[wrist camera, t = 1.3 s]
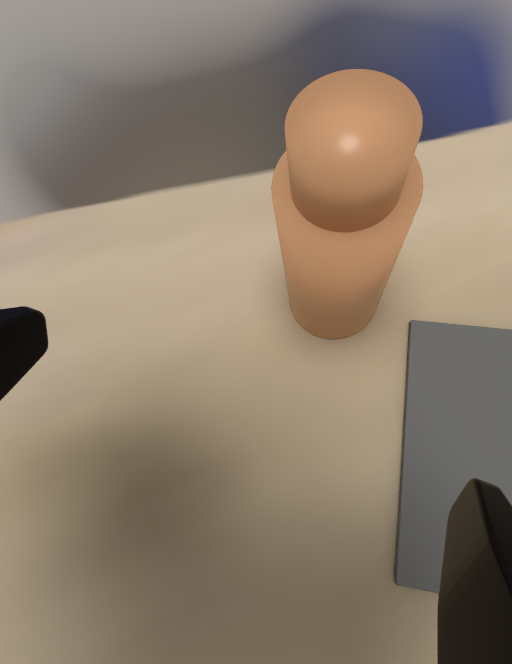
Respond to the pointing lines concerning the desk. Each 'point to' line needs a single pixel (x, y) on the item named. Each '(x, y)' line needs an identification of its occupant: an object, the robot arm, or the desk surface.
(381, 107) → the peach capped bottle
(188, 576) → the desk surface
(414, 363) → the mat
